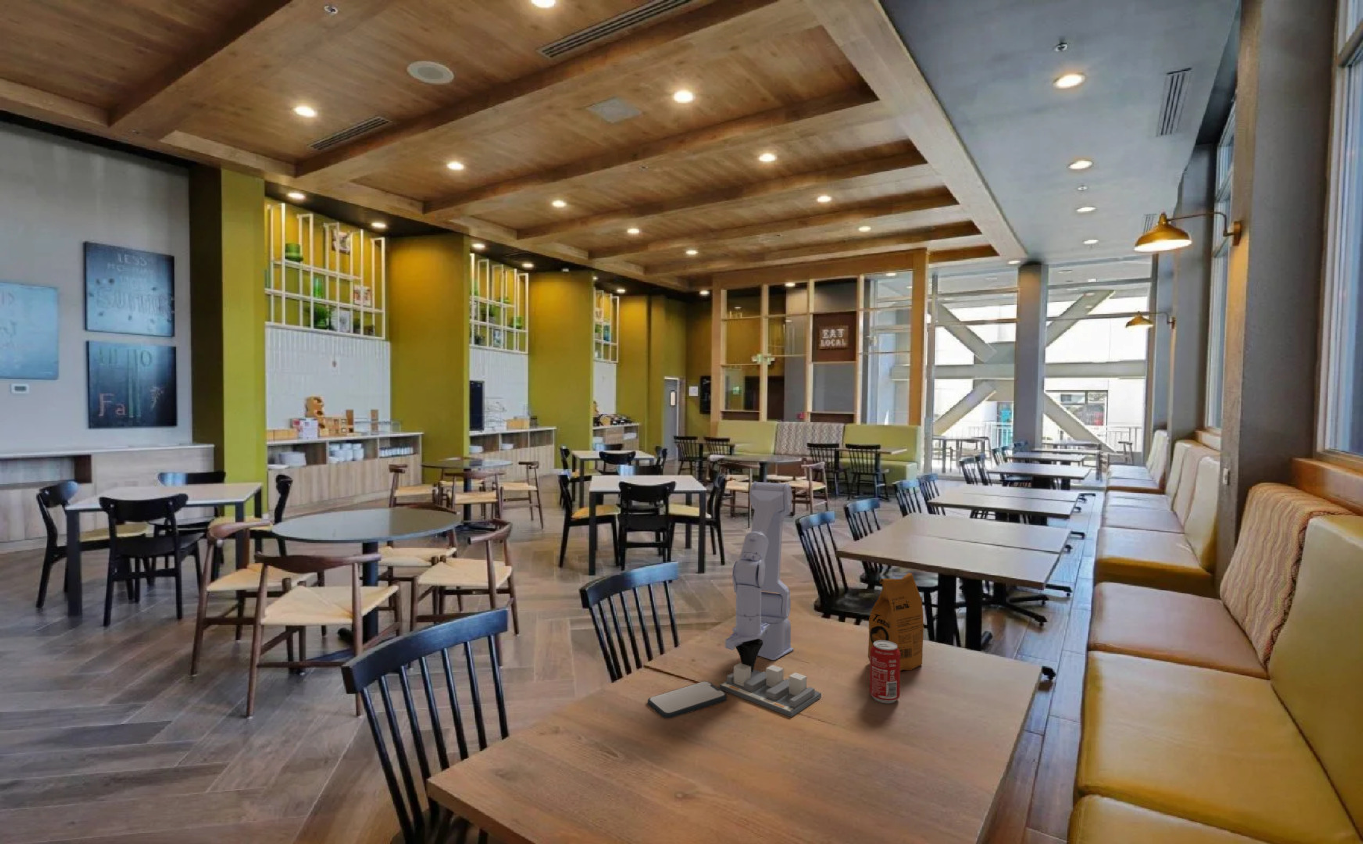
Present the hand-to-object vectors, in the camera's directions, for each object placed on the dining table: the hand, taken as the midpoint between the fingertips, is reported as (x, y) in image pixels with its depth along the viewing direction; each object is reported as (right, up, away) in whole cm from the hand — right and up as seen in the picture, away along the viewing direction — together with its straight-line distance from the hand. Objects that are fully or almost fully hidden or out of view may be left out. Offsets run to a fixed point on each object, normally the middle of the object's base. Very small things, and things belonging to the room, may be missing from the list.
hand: (748, 671), depth 148 cm
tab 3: (+10, -2, -7) cm, 12 cm away
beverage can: (+29, -4, -6) cm, 30 cm away
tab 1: (-1, -2, -2) cm, 3 cm away
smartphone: (-14, -4, -8) cm, 16 cm away
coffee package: (+38, -3, +12) cm, 40 cm away
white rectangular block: (+6, -2, -2) cm, 7 cm away
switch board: (+4, -3, -4) cm, 7 cm away
